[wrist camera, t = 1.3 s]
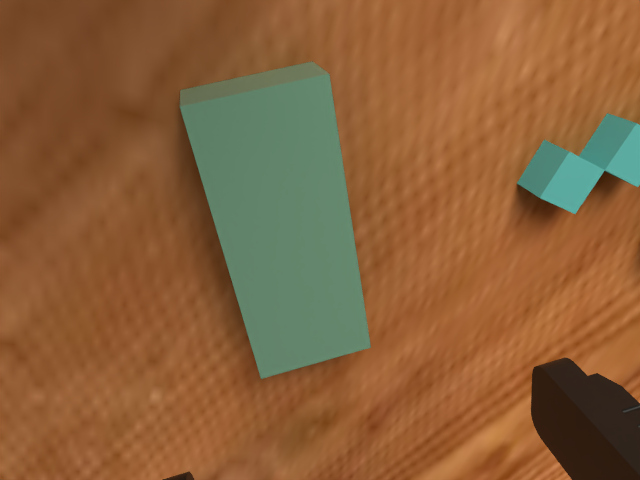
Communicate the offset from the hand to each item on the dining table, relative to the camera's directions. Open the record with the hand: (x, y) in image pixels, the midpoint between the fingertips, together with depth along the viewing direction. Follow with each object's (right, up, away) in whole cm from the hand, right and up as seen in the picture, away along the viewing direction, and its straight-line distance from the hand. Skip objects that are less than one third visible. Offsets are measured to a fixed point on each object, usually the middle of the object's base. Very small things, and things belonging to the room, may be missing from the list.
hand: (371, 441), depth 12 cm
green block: (-3, +6, +11) cm, 13 cm away
